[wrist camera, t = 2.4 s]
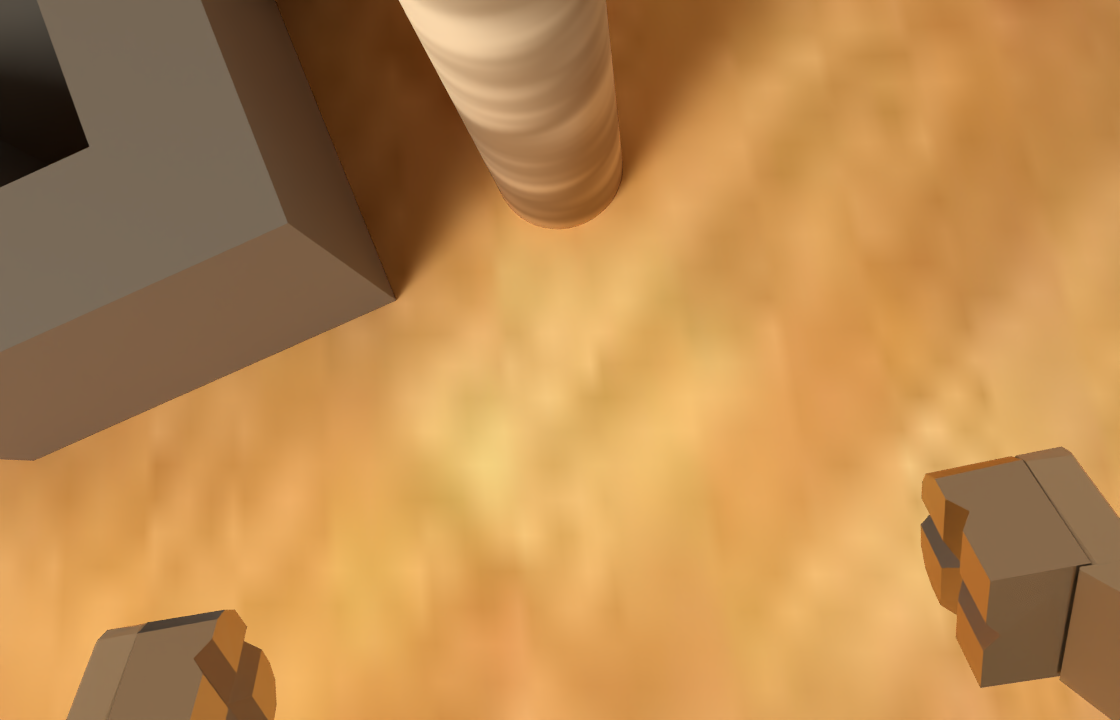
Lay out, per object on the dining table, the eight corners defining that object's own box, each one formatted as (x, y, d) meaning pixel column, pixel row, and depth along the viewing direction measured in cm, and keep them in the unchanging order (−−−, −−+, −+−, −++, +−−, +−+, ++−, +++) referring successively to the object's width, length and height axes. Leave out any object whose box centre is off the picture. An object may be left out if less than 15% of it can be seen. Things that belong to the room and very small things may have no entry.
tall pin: (525, 249, 33) (377, -19, 16) (477, 137, 34) (282, -242, 16) (643, 197, 33) (628, -134, 15) (592, 86, 34) (522, -355, 16)
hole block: (33, 460, 34) (-220, 450, 24) (-81, 114, 36) (-356, -25, 26) (396, 300, 34) (287, 223, 24) (258, -42, 36) (106, -243, 26)
